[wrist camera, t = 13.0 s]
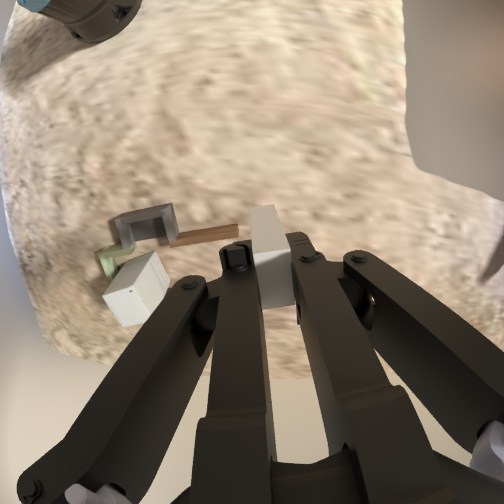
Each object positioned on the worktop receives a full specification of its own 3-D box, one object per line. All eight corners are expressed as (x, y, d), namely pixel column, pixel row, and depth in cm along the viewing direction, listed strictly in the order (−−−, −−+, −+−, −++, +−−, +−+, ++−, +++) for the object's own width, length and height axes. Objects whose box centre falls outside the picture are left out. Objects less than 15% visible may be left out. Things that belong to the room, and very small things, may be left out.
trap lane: (96, 219, 48) (88, 225, 44) (232, 192, 47) (231, 196, 43) (134, 318, 58) (129, 328, 55) (252, 306, 57) (253, 317, 54)
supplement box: (125, 260, 52) (99, 295, 40) (156, 249, 51) (134, 284, 39) (142, 290, 55) (121, 328, 43) (172, 281, 54) (156, 321, 42)
